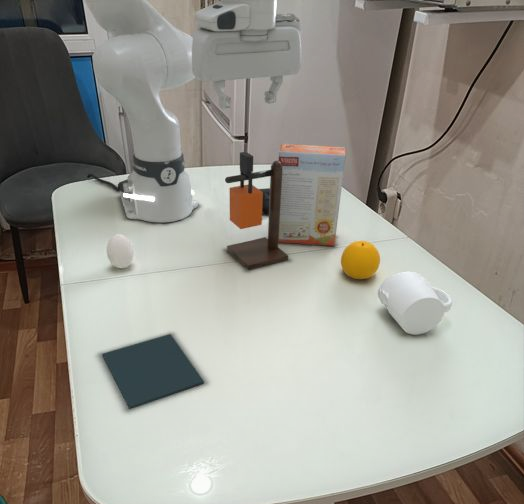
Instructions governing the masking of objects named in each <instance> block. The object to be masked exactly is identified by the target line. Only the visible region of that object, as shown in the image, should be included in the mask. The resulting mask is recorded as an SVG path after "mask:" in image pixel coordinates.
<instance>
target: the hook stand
mask: <svg viewBox="0 0 524 504" xmlns="http://www.w3.org/2000/svg"><path fill="white" fill-rule="evenodd" d="M282 171H283V166H282V164H281V162H279V160H274V161H273V162H272V164H271V165H270V169H267V170H262V171H261V170H260V171H255V172H254V171H253V172H252V173H253V177H252V180H255V179H256V180H257V179H262V178H268V177H270V178H269V188H270V198H269V215H268V222H267V223H268V225H267V237H266V236H263V237H260V238H255V239H250V240H246V241H243V242H237V243H233V244H229V245H226V251H227V252H228V253H229V254H230V255H231V256H232V257H233V258H234V259H235V260H236V261H237V262H238V263H240V265H241V266H242V267H244V268H245V269H246V270H247V271H251V270H256V269H259V268H264V267H267V266H271V265H276V264H279V263H283V262H287V261H289V254H287V253H286V252H284V251H283V250H282V249H281V248H279V242H278V241H279V223H280V206H281V188H282ZM224 181H225V183H226V184H231V183H238V182H239V183H240V181H244V182H245V181H248V176H247V175H245V174H242V175H240V174H237V175H230V176H226V177H225V179H224Z"/></svg>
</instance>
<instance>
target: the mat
mask: <svg viewBox="0 0 524 504" xmlns="http://www.w3.org/2000/svg"><path fill="white" fill-rule="evenodd" d="M101 355H102V358H103V360H104V362H105V363H106V365H107V367H108V370H109V371H110V374H111V376H112V377H113V380H114V381H115V383H116V386H117V387H118V389H119V391H120V393H121V395H122V397H123V399H124V401H125V403H126V405H127V406H128V408H129V409H133V408H135V407H139V406H141V405H145V404H148V403H151V402H153V401H157V400H159V399H162V398H165V397H168V396H171V395H174V394H177V393H180V392H183V391H186V390H188V389H191V388H195V387H197V386H200V385H203V384H205V381H204V379H203V378H202V376H201V375H200V373H199V372H198V371H197V370H196V368H195V366H194V365H193V364H192V362H191V361H190V359H189V358H188V357H187V355H186V354H185V352H184V351H183V349H182V348H181V347H180V345H179V344H178V342H177V341H176V340H175V338H174V337H173V335H172V334H171V333H169V334H166V335H162V336H159V337H156V338H152V339H148V340H144V341H141V342H138V343H134V344H131V345H129V346H128V345H127V346H124V347H121V348H117V349H114V350H111V351H107V352H103V353H101Z"/></svg>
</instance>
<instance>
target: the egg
mask: <svg viewBox="0 0 524 504" xmlns="http://www.w3.org/2000/svg"><path fill="white" fill-rule="evenodd" d="M106 255H107V259H108V261H109V262H110V264H111V265H112V266H114V267H115V268H118V269H125V268H128V267H130V265H131V264H132V262H133V260H134V255H135V254H134V249H133V245H132V243H131V241H130V240H129V239H128V238H127V237H126V236H125V235H123V234H120V233H115V234H114V235H112V236H111V237H110V238H109V240H108V242H107V245H106Z"/></svg>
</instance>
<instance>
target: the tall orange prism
mask: <svg viewBox="0 0 524 504" xmlns="http://www.w3.org/2000/svg"><path fill="white" fill-rule="evenodd" d="M253 173H254V155H252V154H250V153H249V152H247V151H242V152H241V151H240V152H239V175H242V174H245V175H247V176H248V180H247V181H248V183H247V184H245V181H239V183H240V184H239V185H238V186H237V185H236V186H232V187H229V221H230V222H231V223H232V224H234V225H235V226H236V227H237V228H239V230H245V229H248V228H254V227H257V226H262V224H263V213H262V202H263V192H262V191H260V190H259V189H260V188H258V187H256V186H255V185H253V179H252V177H253Z"/></svg>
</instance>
